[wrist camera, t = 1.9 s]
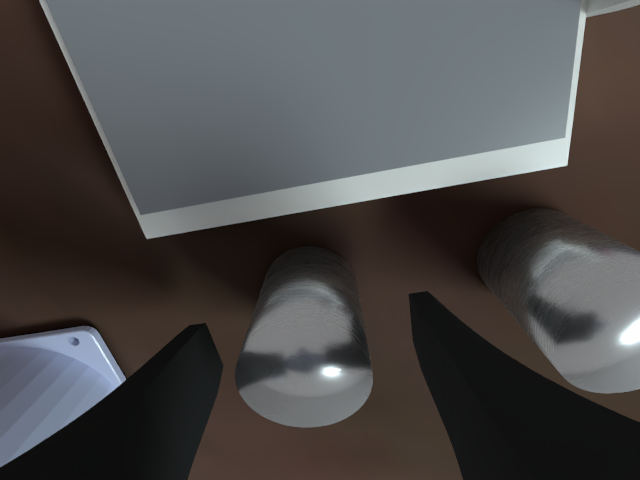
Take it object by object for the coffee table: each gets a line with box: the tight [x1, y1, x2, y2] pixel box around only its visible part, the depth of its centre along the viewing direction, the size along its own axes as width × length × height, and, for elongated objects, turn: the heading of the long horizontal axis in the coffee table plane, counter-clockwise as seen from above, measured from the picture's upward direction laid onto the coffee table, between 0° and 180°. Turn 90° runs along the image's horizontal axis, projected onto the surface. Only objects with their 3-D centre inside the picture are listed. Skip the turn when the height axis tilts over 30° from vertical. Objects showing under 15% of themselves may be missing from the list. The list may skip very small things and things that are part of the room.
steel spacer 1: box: [235, 246, 373, 427], centre depth 12 cm, size 4×4×5 cm
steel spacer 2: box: [477, 208, 640, 393], centre depth 11 cm, size 4×4×5 cm
